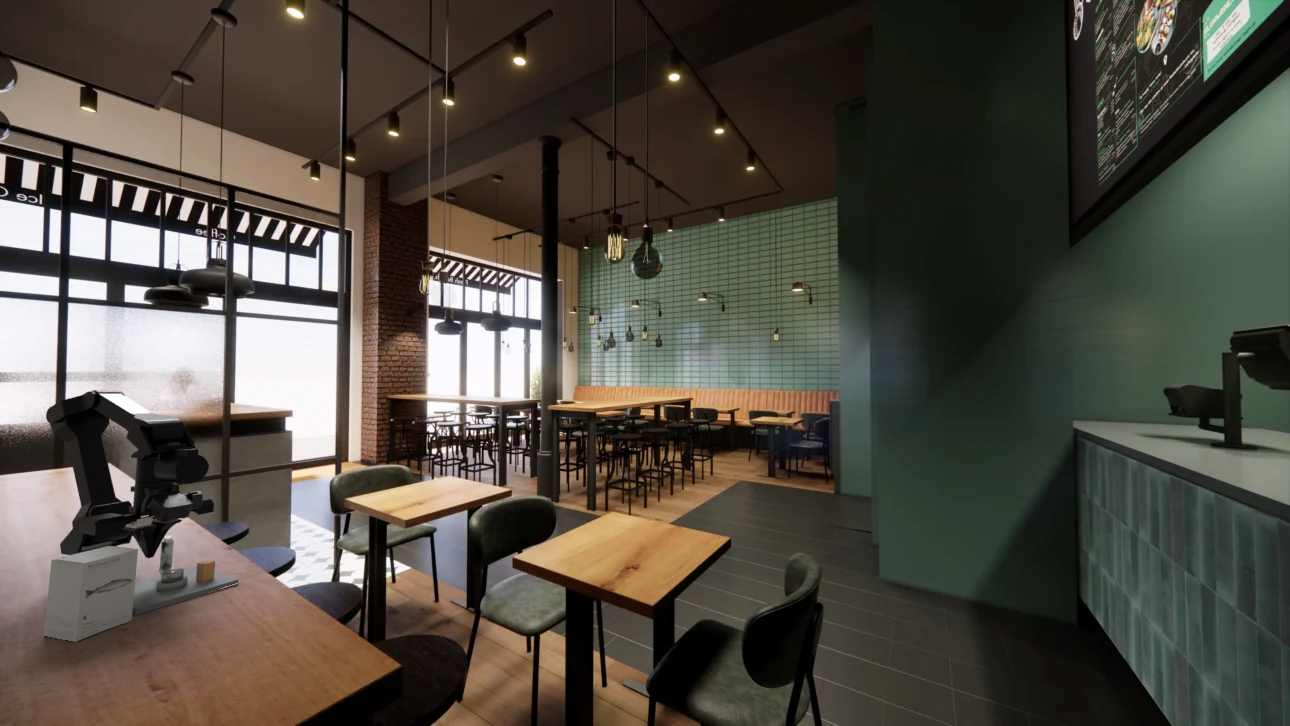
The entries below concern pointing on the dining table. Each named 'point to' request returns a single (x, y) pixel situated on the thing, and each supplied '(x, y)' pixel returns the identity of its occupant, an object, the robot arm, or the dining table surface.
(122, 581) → the supplement box
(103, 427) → the robot arm
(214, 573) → the crank bed
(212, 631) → the dining table surface
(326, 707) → the dining table surface
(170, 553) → the crank
